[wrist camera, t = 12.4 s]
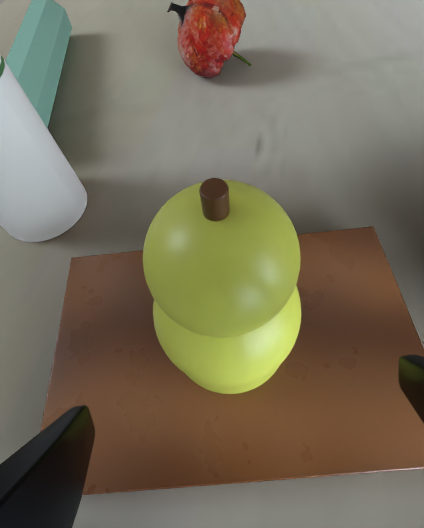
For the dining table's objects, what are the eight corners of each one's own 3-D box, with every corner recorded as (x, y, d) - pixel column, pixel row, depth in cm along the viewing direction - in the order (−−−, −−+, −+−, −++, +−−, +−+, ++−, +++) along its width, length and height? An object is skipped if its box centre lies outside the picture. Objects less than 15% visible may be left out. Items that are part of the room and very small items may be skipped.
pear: (313, 330, 17) (422, 175, 7) (231, 426, 15) (215, 408, 5) (226, 260, 19) (212, 74, 9) (146, 334, 17) (22, 198, 7)
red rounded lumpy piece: (236, 67, 38) (164, 12, 34) (277, 14, 32) (196, -61, 28) (227, 111, 36) (148, 57, 31) (270, 61, 30) (179, -14, 25)
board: (439, 461, 16) (472, 465, 13) (55, 491, 16) (27, 499, 14) (360, 246, 22) (373, 226, 20) (87, 274, 23) (71, 257, 20)
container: (21, -23, 36) (-42, 100, 23) (76, -5, 38) (45, 117, 25) (29, 33, 41) (-19, 161, 28) (78, 46, 43) (52, 171, 30)
